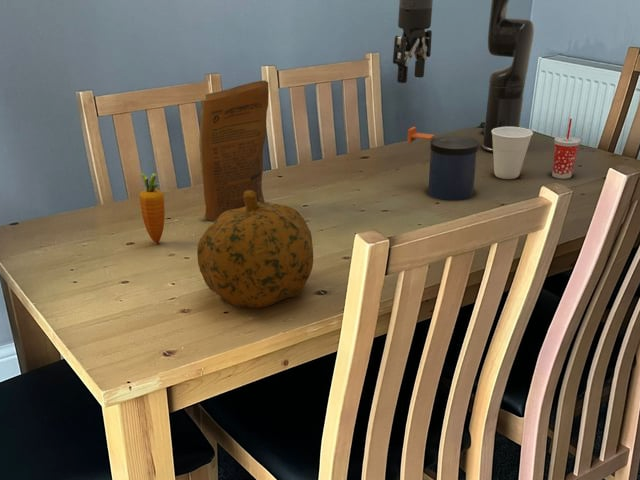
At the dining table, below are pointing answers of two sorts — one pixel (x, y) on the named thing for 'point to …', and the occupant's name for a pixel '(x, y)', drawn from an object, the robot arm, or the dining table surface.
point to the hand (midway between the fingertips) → (410, 79)
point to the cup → (509, 150)
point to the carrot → (152, 208)
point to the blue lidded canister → (452, 167)
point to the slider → (417, 135)
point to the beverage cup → (564, 155)
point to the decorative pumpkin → (256, 253)
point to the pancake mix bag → (232, 146)
